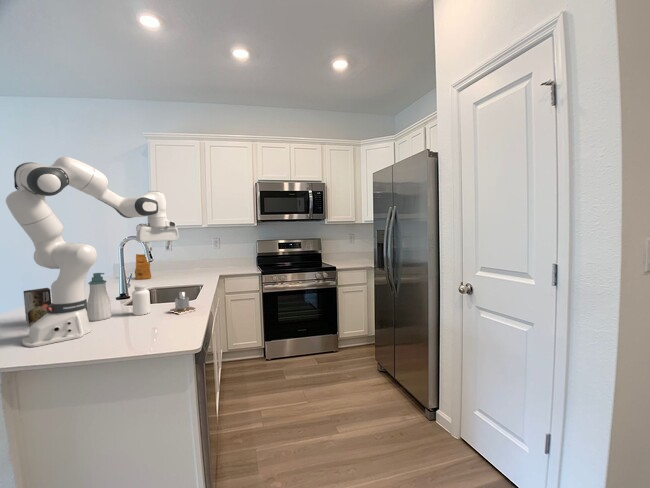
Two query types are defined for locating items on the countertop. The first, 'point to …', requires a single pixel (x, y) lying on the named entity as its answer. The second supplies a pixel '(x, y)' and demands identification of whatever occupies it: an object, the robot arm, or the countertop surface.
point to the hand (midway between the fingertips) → (159, 250)
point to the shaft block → (182, 296)
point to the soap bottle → (98, 299)
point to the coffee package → (142, 267)
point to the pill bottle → (141, 300)
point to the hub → (181, 303)
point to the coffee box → (36, 304)
